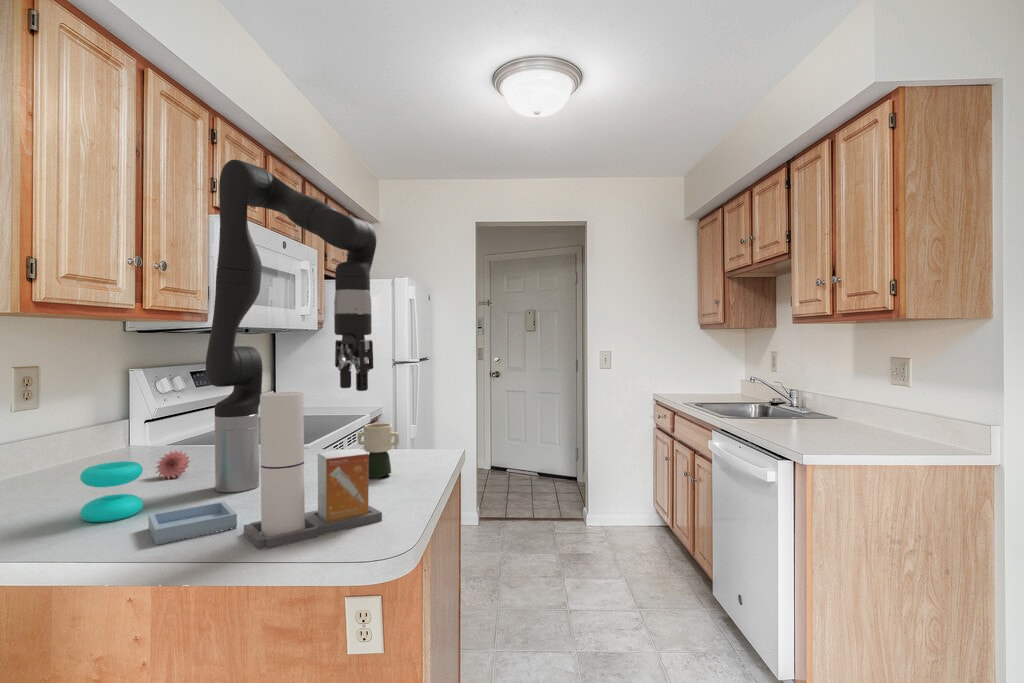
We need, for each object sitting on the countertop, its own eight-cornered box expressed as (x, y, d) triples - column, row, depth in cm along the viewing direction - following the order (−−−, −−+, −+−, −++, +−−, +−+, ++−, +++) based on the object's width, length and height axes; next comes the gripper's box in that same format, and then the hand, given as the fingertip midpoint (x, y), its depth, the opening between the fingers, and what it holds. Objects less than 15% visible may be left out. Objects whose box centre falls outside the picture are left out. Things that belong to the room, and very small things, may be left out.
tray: (148, 528, 100) (148, 514, 100) (224, 514, 108) (224, 501, 108) (155, 545, 92) (155, 529, 92) (236, 528, 100) (236, 514, 100)
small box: (326, 529, 99) (325, 458, 99) (317, 520, 104) (316, 452, 104) (369, 521, 103) (369, 453, 103) (359, 512, 109) (358, 447, 109)
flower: (175, 450, 143) (167, 441, 139) (201, 463, 143) (194, 454, 138) (153, 476, 139) (144, 468, 134) (179, 489, 138) (171, 482, 134)
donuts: (67, 472, 102) (98, 461, 112) (68, 525, 102) (99, 509, 112) (126, 470, 104) (151, 459, 114) (127, 522, 104) (152, 506, 114)
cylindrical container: (262, 544, 92) (261, 396, 92) (260, 531, 98) (259, 393, 98) (307, 536, 95) (305, 394, 95) (302, 524, 102) (301, 391, 101)
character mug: (404, 473, 140) (403, 423, 140) (394, 480, 133) (393, 427, 133) (363, 472, 142) (363, 422, 141) (352, 479, 134) (351, 427, 134)
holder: (243, 532, 98) (242, 524, 98) (360, 507, 111) (360, 500, 111) (259, 550, 89) (259, 541, 89) (383, 521, 103) (383, 513, 103)
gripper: (323, 313, 118) (323, 388, 118) (349, 310, 106) (350, 393, 107) (356, 314, 122) (356, 386, 122) (384, 311, 111) (385, 390, 111)
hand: (353, 389), depth 114 cm, fingers open, 8 cm apart
